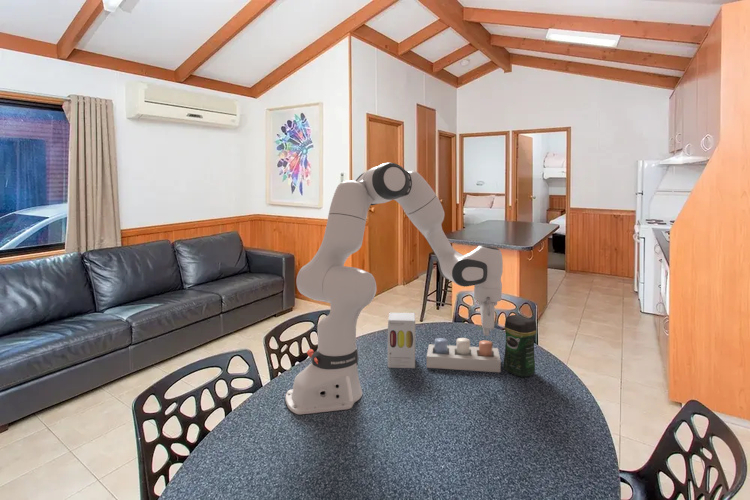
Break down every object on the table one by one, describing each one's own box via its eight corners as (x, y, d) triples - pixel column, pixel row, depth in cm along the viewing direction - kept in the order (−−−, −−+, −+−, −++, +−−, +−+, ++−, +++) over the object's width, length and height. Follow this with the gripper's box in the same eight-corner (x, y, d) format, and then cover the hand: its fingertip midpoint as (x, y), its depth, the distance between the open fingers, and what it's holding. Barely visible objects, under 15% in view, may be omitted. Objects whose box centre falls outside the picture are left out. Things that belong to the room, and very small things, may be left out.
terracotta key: (479, 356, 147) (479, 344, 146) (478, 351, 151) (478, 340, 151) (492, 356, 146) (493, 345, 145) (491, 351, 150) (492, 340, 150)
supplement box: (387, 368, 148) (386, 320, 145) (388, 357, 157) (387, 311, 154) (415, 368, 147) (415, 320, 144) (415, 357, 156) (415, 311, 153)
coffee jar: (539, 374, 142) (541, 318, 139) (522, 380, 137) (524, 323, 135) (515, 363, 150) (517, 311, 147) (498, 369, 146) (500, 315, 143)
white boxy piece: (426, 367, 148) (426, 356, 147) (428, 354, 158) (428, 344, 158) (500, 372, 143) (500, 360, 142) (497, 358, 154) (497, 348, 153)
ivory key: (456, 353, 148) (456, 342, 148) (456, 348, 153) (456, 337, 152) (469, 354, 147) (469, 342, 147) (469, 349, 152) (469, 338, 151)
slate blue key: (434, 353, 150) (434, 342, 149) (434, 348, 154) (434, 337, 153) (447, 354, 149) (447, 343, 148) (447, 349, 153) (447, 338, 153)
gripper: (500, 302, 134) (498, 345, 136) (495, 287, 154) (493, 325, 156) (478, 301, 135) (477, 344, 137) (477, 286, 155) (475, 324, 157)
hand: (486, 334), depth 147 cm, fingers closed
